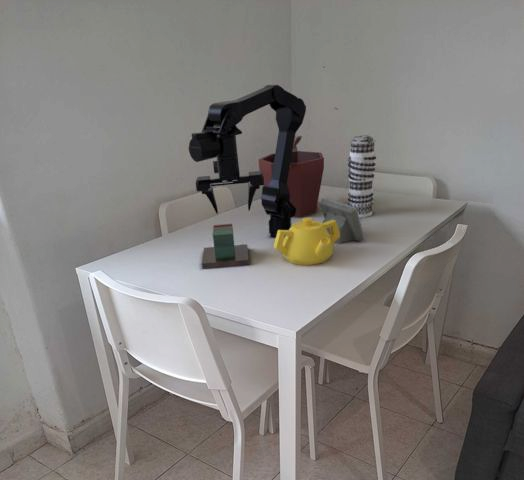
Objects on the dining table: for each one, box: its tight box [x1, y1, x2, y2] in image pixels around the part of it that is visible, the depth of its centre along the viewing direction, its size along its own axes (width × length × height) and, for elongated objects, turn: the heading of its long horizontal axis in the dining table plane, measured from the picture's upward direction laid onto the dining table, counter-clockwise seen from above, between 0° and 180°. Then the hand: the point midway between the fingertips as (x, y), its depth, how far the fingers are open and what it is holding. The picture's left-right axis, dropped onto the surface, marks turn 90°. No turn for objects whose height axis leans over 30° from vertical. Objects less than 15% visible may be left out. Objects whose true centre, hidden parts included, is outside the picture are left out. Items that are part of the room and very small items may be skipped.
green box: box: [212, 223, 235, 260], centre depth 140 cm, size 9×6×7 cm, turn 4°
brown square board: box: [201, 243, 250, 269], centre depth 142 cm, size 13×13×2 cm
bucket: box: [258, 135, 325, 218], centre depth 173 cm, size 24×22×25 cm
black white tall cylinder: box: [346, 134, 377, 218], centre depth 165 cm, size 9×9×25 cm
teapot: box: [273, 217, 340, 266], centre depth 135 cm, size 20×18×11 cm
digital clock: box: [319, 198, 365, 244], centre depth 150 cm, size 16×9×11 cm, turn 20°
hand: (233, 211), depth 142 cm, fingers open, 9 cm apart
